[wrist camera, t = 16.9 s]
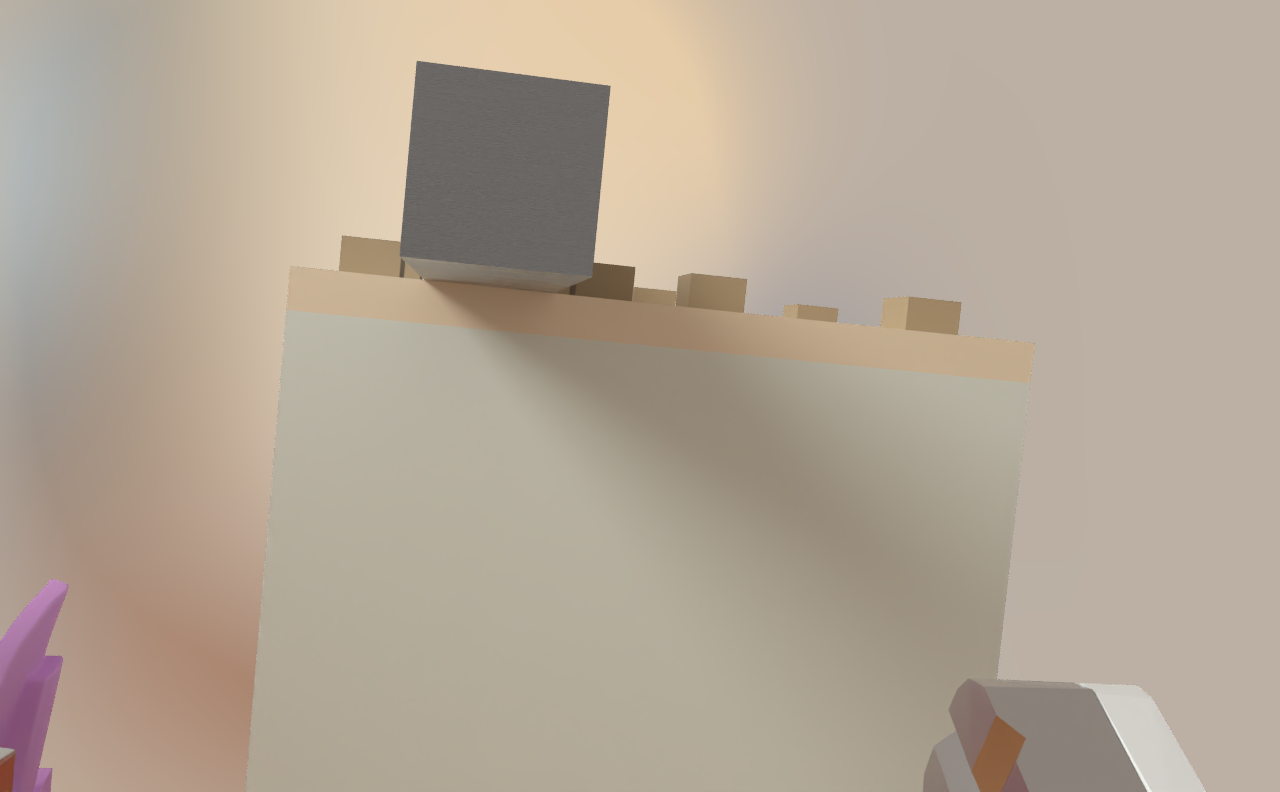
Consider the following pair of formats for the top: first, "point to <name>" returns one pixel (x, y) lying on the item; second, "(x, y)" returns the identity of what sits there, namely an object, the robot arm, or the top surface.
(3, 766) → the small box
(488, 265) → the long grey bar
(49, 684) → the toy chair
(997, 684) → the robot arm
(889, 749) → the stand
